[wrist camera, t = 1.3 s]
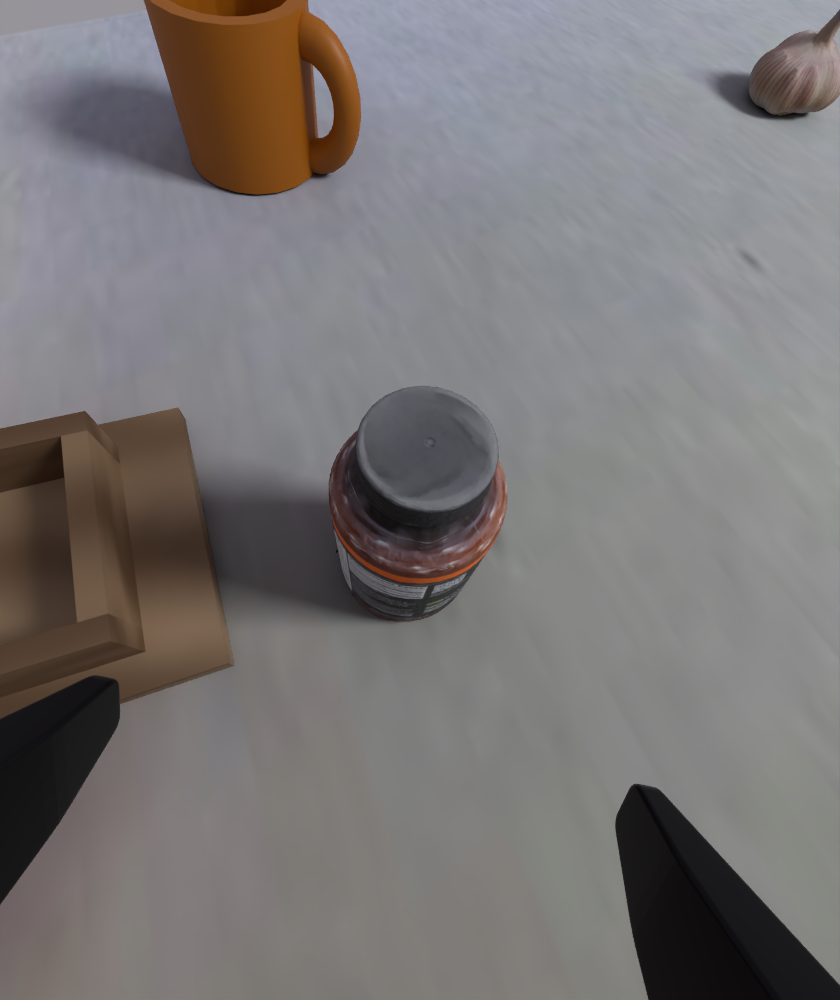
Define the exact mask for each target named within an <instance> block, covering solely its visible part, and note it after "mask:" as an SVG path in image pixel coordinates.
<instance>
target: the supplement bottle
mask: <svg viewBox="0 0 840 1000" xmlns="http://www.w3.org/2000/svg"><path fill="white" fill-rule="evenodd" d="M498 458H499V451H498V441H497V437H496V434H495V432H494V429H493V427H492V425H491V423H490V422H489V420H488V418H487V417H486V416H485V415H484V413H483V412H482V411H481V410H480V409H479V408H478V407H477V406H476V405H474V404H473V403H472V402H471V401H469V400H467V399H466V398H464V397H462V396H461V395H459V394H456V393H454V392H452V391H449V390H446V389H442V388H438V387H430V386H415V387H409V388H403V389H400V390H398V391H395V392H392V393H390V394H388V395H386V396H385V397H383V398H382V399H380V400H379V401H378V402H376V403H375V404H374V405H373V406H372V407H371V408H370V409H369V411H368V412H367V413H366V415H365V416H364V418H363V419H362V421H361V423H360V426H359V428H358V430H357V431H356V432H355V433H354V434H353V435H352V436H351V437H350V438H349V439H348V440H347V442H346V443H345V444H344V445H343V446H342V448H341V449H340V452H339V453H338V454H337V457H336V459H335V461H334V463H333V466H332V469H331V473H330V479H329V504H330V510H331V515H332V522H333V529H334V533H335V539H336V542H337V547H338V549H337V551H336V553H337V552H339V556H340V561H341V566H342V571H343V574H344V576H345V579H346V582H347V584H348V586H349V589H350V590H351V592H352V594H353V595H354V597H355V598H356V599H357V600H358V601H359V602H360V604H362V605H363V606H364V607H365V608H366V609H368V610H369V611H371V612H372V613H374V614H376V615H378V616H380V617H383V618H386V619H390V620H394V621H406V622H409V621H415V620H421V619H424V618H427V617H429V616H432V615H434V614H436V613H438V612H439V611H441V610H442V609H443V608H444V607H446V606H447V605H448V604H449V603H450V602H452V601H453V600H454V598H455V597H456V596H457V595H458V593H459V592H460V590H461V589H462V588H463V586H464V585H465V583H466V582H467V581H468V579H469V578H470V576H471V575H472V573H473V572H474V571H475V569H476V568H477V566H478V565H479V563H480V562H481V560H482V559H483V557H484V556H485V554H486V553H487V552H488V550H489V549H490V547H491V546H492V544H493V543H494V541H495V539H496V537H497V535H498V533H499V531H500V529H501V526H502V524H503V521H504V517H505V513H506V508H507V485H506V479H505V475H504V471H503V469H502V466H501V464H500V461H499V459H498Z"/></svg>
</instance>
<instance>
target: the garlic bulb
mask: <svg viewBox="0 0 840 1000" xmlns="http://www.w3.org/2000/svg"><path fill="white" fill-rule="evenodd" d="M839 27H840V10H839V11H838V12H837V13H836V15H835V16H834V17H833V18H832V19H831V20H830V21H829V22H828V23H827V24H826V25H825V26H824V27H823V28H822V29H821V30H820V31H819V32H817V31H811V30H808V31H803V32H799V33H796V34H794V35H792V36H790V37H788V38H787V39H786V40H784V41H783V42H782V43H780V44H779V45H778V46H777V47H776V48H774V49H773V50H771V51H769V52H767V53H766V54H765V55H764V56H762V57H761V58H760V59H759V61H758V62H757V63H756V65H755V66H754V68H753V70H752V72H751V75H750V79H749V94H750V97H751V99H752V101H753V102H754V103H755V104H756V105H757V106H759V107H762V108H764V109H765V110H766V111H767V112H769V113H771V114H773V115H776V114H778V115H780V116H781V115H786V114H790V113H793V112H796V113H808V112H816V111H820V110H822V109H824V108H826V107H827V106H829V105H830V104H831V103H833V102H834V101H835V100H836V99H837V98H838V96H839V95H840V55H839V52H838V47H837V44H836V42H835V41H834V39H833V37H834V36H835V34H836V32H837V31H838V29H839Z"/></svg>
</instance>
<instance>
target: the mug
mask: <svg viewBox="0 0 840 1000" xmlns="http://www.w3.org/2000/svg"><path fill="white" fill-rule="evenodd" d="M144 2H145V5H146V9H147V12H148V15H149V19H150V22H151V25H152V29H153V32H154V35H155V39H156V42H157V46H158V49H159V52H160V56H161V59H162V62H163V66H164V69H165V72H166V76H167V79H168V82H169V86H170V89H171V92H172V96H173V99H174V102H175V106H176V109H177V112H178V116H179V119H180V122H181V126H182V129H183V132H184V136H185V139H186V143H187V146H188V149H189V153H190V156H191V159H192V163H193V166H194V167H195V168H196V169H197V171H198V172H199V173H200V174H201V176H202V177H204V178H205V179H207V180H208V181H210V182H211V183H213V184H215V185H216V186H218V187H221V188H224V189H228V190H231V191H234V192H238V193H248V194H257V195H258V194H269V193H278V192H282V191H285V190H288V189H291V188H294V187H297V186H298V185H300V184H301V183H303V182H304V181H306V180H308V179H309V178H310V177H311V176H312V174H313V173H318V174H327V173H332V172H334V171H336V170H337V169H339V168H340V167H342V166H343V165H345V163H346V162H347V161H348V159H349V158H350V156H351V155H352V153H353V151H354V148H355V145H356V142H357V139H358V136H359V129H360V122H361V105H360V94H359V89H358V84H357V79H356V75H355V72H354V70H353V67H352V64H351V62H350V59H349V56H348V54H347V52H346V50H345V49H344V47H343V45H342V44H341V42H340V40H339V39H338V37H337V35H336V34H335V33H334V32H333V31H332V30H331V29H330V28H329V27H328V25H327V24H326V23H325V22H324V21H323V20H321V19H319V18H318V17H316V16H314V15H313V14H311V13H309V9H308V0H144ZM313 65H314V66H315V67H316V69H317V70H318V71H319V72H320V73H321V74H322V76H323V78H324V79H325V81H326V83H327V85H328V87H329V90H330V92H331V96H332V101H333V107H334V121H333V126H332V129H331V131H330V132H329V134H328V135H327V136H325V137H323V138H318V130H317V116H316V103H315V90H314V76H313Z"/></svg>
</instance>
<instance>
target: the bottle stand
mask: <svg viewBox="0 0 840 1000" xmlns="http://www.w3.org/2000/svg"><path fill="white" fill-rule="evenodd" d="M231 666H234V662H233V657H232V652H231V647H230V642H229V637H228V631H227V626H226V621H225V616H224V611H223V606H222V601H221V596H220V591H219V586H218V581H217V576H216V571H215V566H214V561H213V556H212V551H211V546H210V541H209V536H208V531H207V526H206V521H205V516H204V511H203V506H202V501H201V496H200V491H199V486H198V481H197V476H196V471H195V466H194V461H193V456H192V451H191V446H190V441H189V436H188V431H187V426H186V421H185V418H184V416H183V415H182V413H181V411H180V410H179V408H174V409H170V410H165V411H160V412H156V413H151V414H147V415H142V416H137V417H133V418H128V419H123V420H119V421H114V422H110V423H105V424H100V425H97V424H96V422H95V421H94V420H93V419H92V418H91V417H90V416H89V415H88V414H87V413H86V411H83V412H78V413H73V414H69V415H64V416H59V417H54V418H50V419H45V420H40V421H35V422H30V423H26V424H21V425H16V426H11V427H6V428H2V429H0V719H1V718H3V717H5V716H7V715H9V714H11V713H13V712H15V711H17V710H19V709H22V708H24V707H26V706H28V705H30V704H32V703H34V702H36V701H38V700H40V699H43V698H45V697H47V696H49V695H51V694H53V693H55V692H57V691H59V690H61V689H63V688H66V687H68V686H70V685H72V684H74V683H76V682H78V681H80V680H82V679H84V678H86V677H89V676H92V675H98V676H103V677H108V678H113V679H115V680H117V681H118V683H119V690H120V704H121V703H124V702H127V701H130V700H133V699H136V698H139V697H142V696H145V695H148V694H151V693H154V692H157V691H160V690H163V689H166V688H169V687H172V686H175V685H178V684H181V683H184V682H187V681H190V680H193V679H196V678H199V677H202V676H205V675H207V674H210V673H213V672H216V671H219V670H222V669H225V668H228V667H231Z"/></svg>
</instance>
